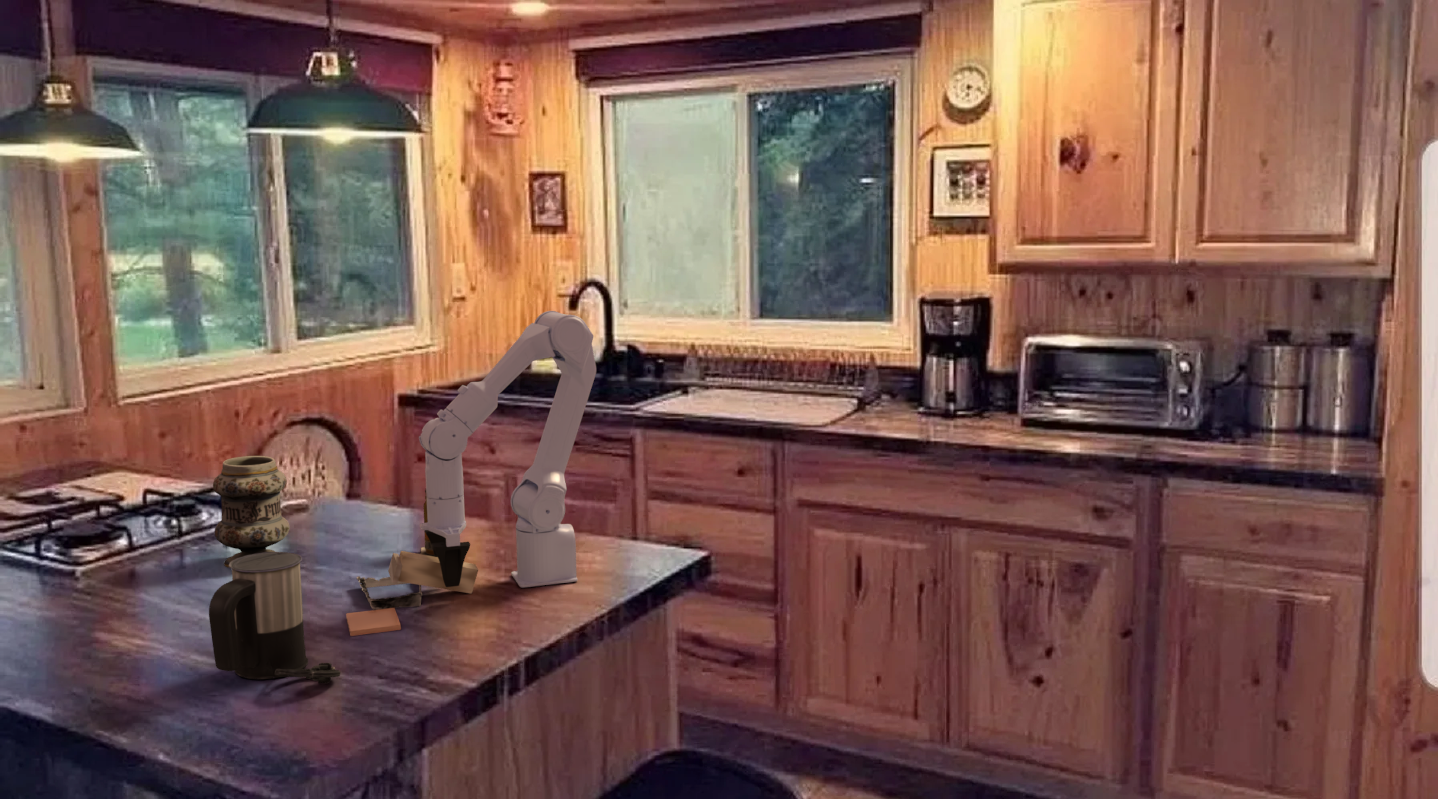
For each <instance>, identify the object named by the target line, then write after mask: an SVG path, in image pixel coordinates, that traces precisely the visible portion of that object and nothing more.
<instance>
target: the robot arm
mask: <svg viewBox="0 0 1438 799" xmlns="http://www.w3.org/2000/svg"><path fill="white" fill-rule="evenodd" d="M534 320H535V321H534V322H532V323H530V324H529V325H527V326H526V328H525V329H524V330H523V332H522V334H521V335H519V337H518V338H517V340H516V341H515V342H514V343H512V345H511V347H510V348H509V349H508V350H507V351H506V352H505V353H504V355H502V357H501V358H500V360H499V361H498V362H497V363H496V364H495V365H494V366H493V368H492V369H491V370H490V371H489V372H488V373H487V375H486V376H485V377H484V378H483V379H482V380H481V381H471V382H469V383H468V384H467V385H464V384H462V385H461V386H460V387H459V388H458V389H457V392H458V394H457V396H456V397H455V398H454V399H453V400H452V401H451V402H450V403H449V404H448V405H447V406H446V408H444V409H439V411H438V412H437V413H436V414H437V416H438V417H436V418H434V419H430V420H428V422H426V423H425V424H424V425H423V427H422V429H421V433H420V435H419V436H418V440H419V444H420V446H421V447H422V448H423V449H424V450H425V452H424V454H425V468H424V471H425V472H424V474H425V475H424V476H425V490H426V494H425V496H426V497H427V519H428V522H427V523H424V522H422V523H420V524H419V528H420V530H421V531H424V530H425V533H426V535H427V536H428V538H429V540H430V543H431V545H432V549H433V552H434V557H438V559H439V562H440V566H441V571H442V576H443V580H444V584H445V586H446V587H453V586H459V584H460V580H461V574H462V568H463V563H464V562H465V560H466V557H467V554H468V552H469V550H470V547H471V542H470V541H462V542H461V535H462V533H463V531H464V530H465V528H466V527H467V521H466V518H465V495H464V492H465V491H464V466H463V456H462V455H463V453H464V452H465V451H466V448H467V446H468V438H469V437H471V436H473V434H474V433H475V431H476V430H477V429H478V428H479V427H480V426H481V425H482V424H483V423H484V422H485V421H486V419H488V418H489V417H490V416H491V414H493V412H494V411H495V410H496V409H497V408H498V404H499V403H498V402H499V401H498V400H499V398H498V397H499V394H501V393H502V392H503V391H504V390H505V389H506V388H507V387H508V386H509V385H510V384H511V383H512V382H514V380H515V379H517V377H519V375H521V373H523V371H525V369H527V368H528V367H529V366H530V365H531V364H532V363H533V362H534V361H538V360H544V359H548V358H549V359H550V358H552V359H553V361H554V362H555V364H556V366H557V368H558V370H559V371H560V373H561V376H560V378H559V381H558V384H557V387H556V391H555V395H554V396H553V401H552V403H551V407H550V409H549V413H548V416H547V419H546V422H545V425H544V428H543V432H542V434H541V438H540V441H539V443H538V448H537V450H536V454H535V456H534V460H533V462H532V465H530V467H529V468H528V469H527V470H526V471H525V472H524V474H523V476H522V479H521V481H520V483H519V484H518V485H517V486H516V487H515V488H514V489H513V491H512V493H511V496H510V507H511V509H512V512H513V513H514V514H515V515H516V516H517V521H516V524H515V536H516V537H515V538H516V539H515V540H516V542H515V543H516V568H517V569H516V571H515V570H513V571H511V576H512V577H513V579H514V581H515V582H516V583H517V585H518V586H519V587H520V588H522V589H524V588H531V587H540V586H545V585H546V586H548V585H559V584H564V583H573V582H578V577H577V546H576V544H577V543H576V535H575V530H574V527H573V525H572V524H571V523H562V521H563V519H564V518H565V515H566V514H565V513H566V505H565V497H566V493H567V490H568V489H567V484H566V479H565V472H566V469H567V466H568V464H569V459H570V456H571V454H572V450H573V447H574V444H575V441H576V438H577V434H578V433H579V432H578V431H579V428H580V425H581V422H582V419H583V415H584V412H585V409H586V406H587V404H588V400H589V398H590V393H591V391H592V390H591V389H592V387H593V383H594V382H595V381H594V380H595V377H596V375H597V364H596V359H595V353H594V347H593V341H594V334H593V333H592V331H591V329H590V328H589V326H588V325H587V323H586V322H585V320H584V319H583V318H581V317H580V316H577V315H575V314H566V313H565V314H564V313H561V312H559V311H556V310H547V311H544V312H542V313H540V315H538V316H537V317H536V319H534ZM425 533H424V534H425Z"/></svg>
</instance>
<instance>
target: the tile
mask: <svg viewBox="0 0 1438 799" xmlns="http://www.w3.org/2000/svg"><path fill="white" fill-rule="evenodd" d="M345 618H346V622H347V626H348V631H349V635H350V637H354V636H355V637H356V636H362V635H369V634H378V633H386V632H393V631H400V630H402V626H401V622H400V619H399V616H398V614H397V611H396V608H388V609H379V610H374V609H372V610H365V611H364V610H363V611H357V612H356V611H355V612H348V613H346V614H345Z"/></svg>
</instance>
